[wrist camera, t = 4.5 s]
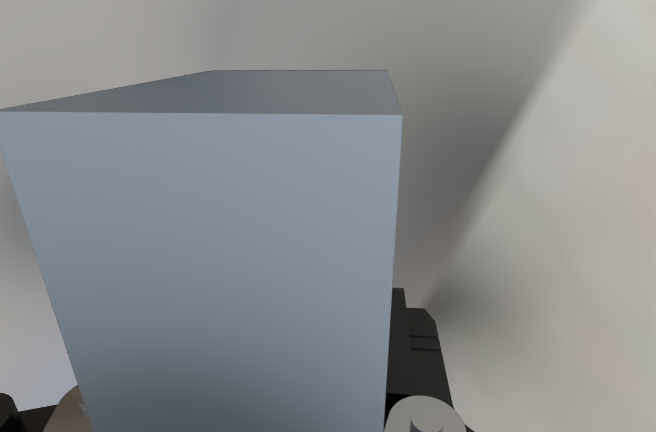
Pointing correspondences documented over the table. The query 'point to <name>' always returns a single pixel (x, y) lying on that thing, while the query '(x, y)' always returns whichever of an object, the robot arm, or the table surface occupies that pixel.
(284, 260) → the tall pale blue pillar
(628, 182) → the table surface
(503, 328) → the table surface
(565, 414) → the table surface
